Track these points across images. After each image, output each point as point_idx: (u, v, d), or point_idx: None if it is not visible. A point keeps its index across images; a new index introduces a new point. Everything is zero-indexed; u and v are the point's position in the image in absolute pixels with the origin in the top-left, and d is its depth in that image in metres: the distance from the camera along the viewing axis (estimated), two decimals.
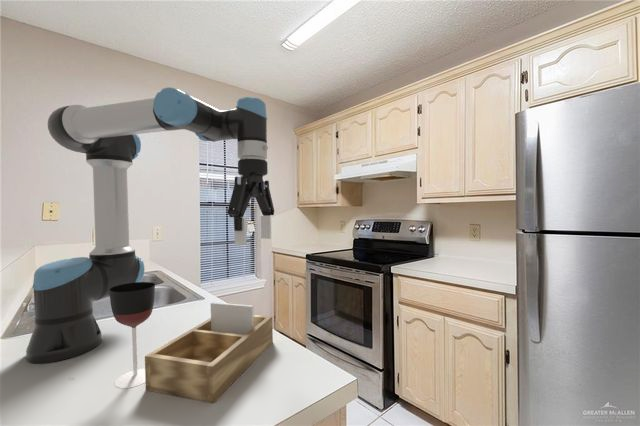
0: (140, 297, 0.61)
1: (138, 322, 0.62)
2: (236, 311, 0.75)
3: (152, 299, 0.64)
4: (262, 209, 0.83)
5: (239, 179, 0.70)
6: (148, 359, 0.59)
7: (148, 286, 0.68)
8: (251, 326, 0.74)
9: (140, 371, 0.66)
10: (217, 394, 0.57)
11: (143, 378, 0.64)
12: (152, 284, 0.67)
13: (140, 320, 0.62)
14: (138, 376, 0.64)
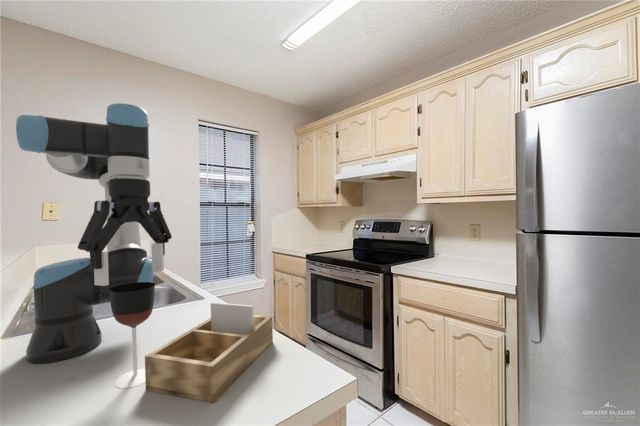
0: (139, 297, 0.61)
1: (138, 322, 0.62)
2: (236, 311, 0.75)
3: (152, 299, 0.64)
4: (152, 236, 0.70)
5: (98, 204, 0.57)
6: (148, 359, 0.59)
7: (148, 286, 0.68)
8: (251, 326, 0.74)
9: (140, 371, 0.66)
10: (217, 394, 0.57)
11: (143, 378, 0.64)
12: (152, 284, 0.67)
13: (140, 320, 0.62)
14: (138, 376, 0.64)
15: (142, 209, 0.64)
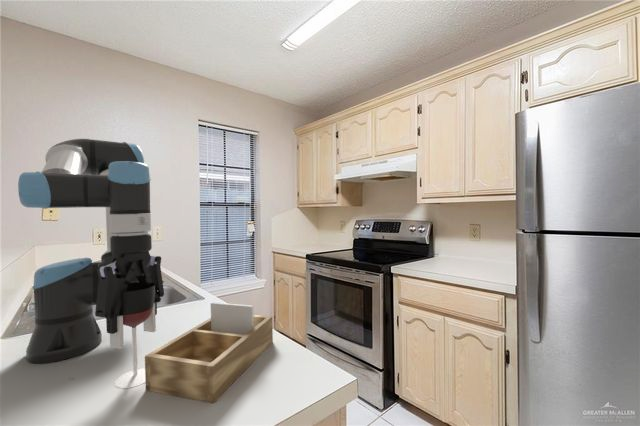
0: (139, 297, 0.61)
1: (138, 322, 0.62)
2: (236, 311, 0.75)
3: (152, 299, 0.64)
4: None
5: (101, 271, 0.57)
6: (148, 359, 0.59)
7: None
8: (251, 326, 0.74)
9: (140, 371, 0.66)
10: (217, 394, 0.57)
11: (143, 378, 0.64)
12: (152, 284, 0.67)
13: (140, 320, 0.62)
14: (138, 376, 0.64)
15: (143, 263, 0.64)
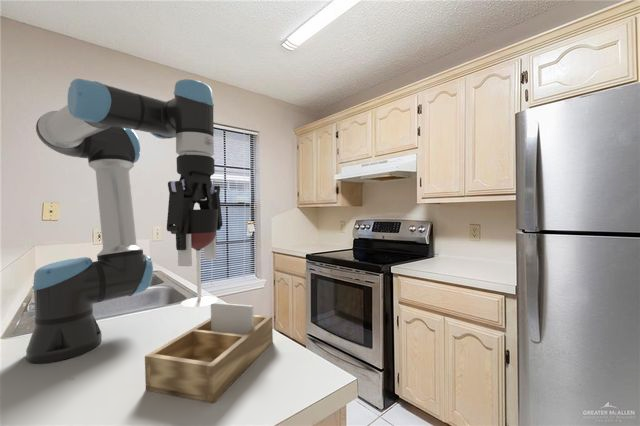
0: (207, 216, 0.61)
1: (204, 243, 0.62)
2: (236, 311, 0.75)
3: (216, 222, 0.64)
4: None
5: (173, 186, 0.57)
6: (148, 359, 0.59)
7: None
8: (251, 326, 0.74)
9: (202, 297, 0.66)
10: (217, 394, 0.57)
11: (208, 301, 0.63)
12: None
13: (206, 241, 0.62)
14: (203, 299, 0.64)
15: (207, 186, 0.64)
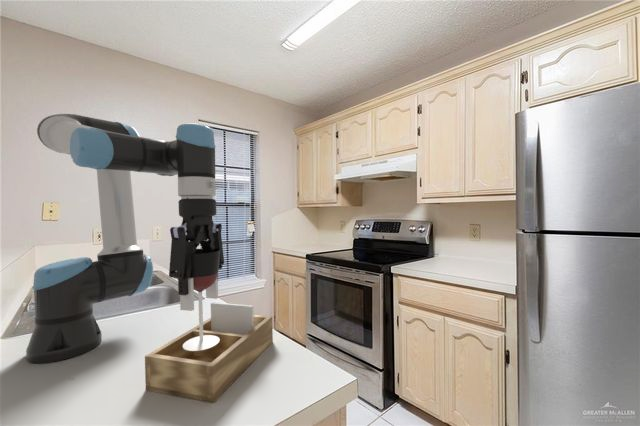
0: (209, 260, 0.61)
1: (206, 286, 0.62)
2: (236, 311, 0.75)
3: (218, 263, 0.64)
4: None
5: (175, 232, 0.57)
6: (148, 359, 0.59)
7: None
8: (251, 326, 0.74)
9: (204, 337, 0.66)
10: (217, 394, 0.57)
11: (210, 342, 0.63)
12: (215, 250, 0.67)
13: (208, 283, 0.62)
14: (205, 340, 0.64)
15: (209, 228, 0.64)
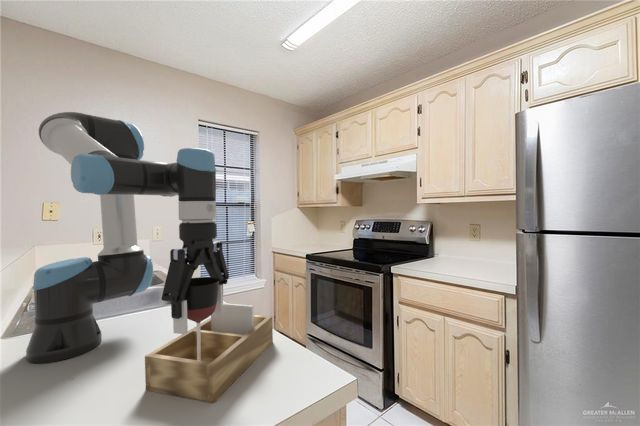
0: (208, 292, 0.61)
1: (205, 317, 0.62)
2: (236, 311, 0.75)
3: (217, 294, 0.64)
4: (212, 277, 0.69)
5: (175, 254, 0.57)
6: (148, 359, 0.59)
7: (210, 281, 0.67)
8: (251, 326, 0.74)
9: None
10: (217, 394, 0.57)
11: None
12: (214, 279, 0.67)
13: (207, 315, 0.62)
14: None
15: (209, 251, 0.64)
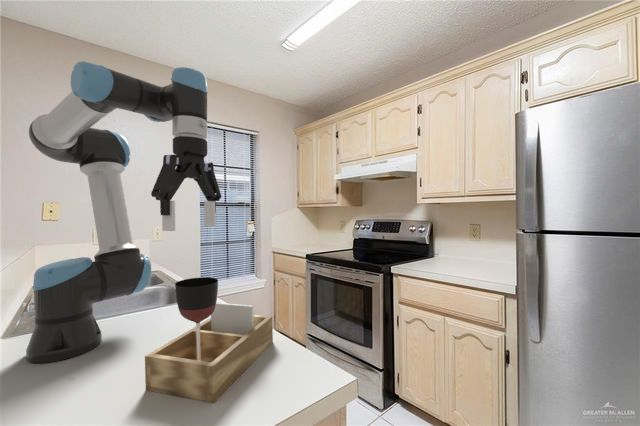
0: (207, 292, 0.61)
1: (204, 317, 0.62)
2: (236, 311, 0.75)
3: (216, 294, 0.63)
4: (205, 194, 0.76)
5: (167, 158, 0.63)
6: (148, 359, 0.59)
7: (209, 281, 0.67)
8: (251, 326, 0.74)
9: None
10: (217, 394, 0.57)
11: None
12: (213, 279, 0.66)
13: (206, 315, 0.62)
14: None
15: (200, 167, 0.70)
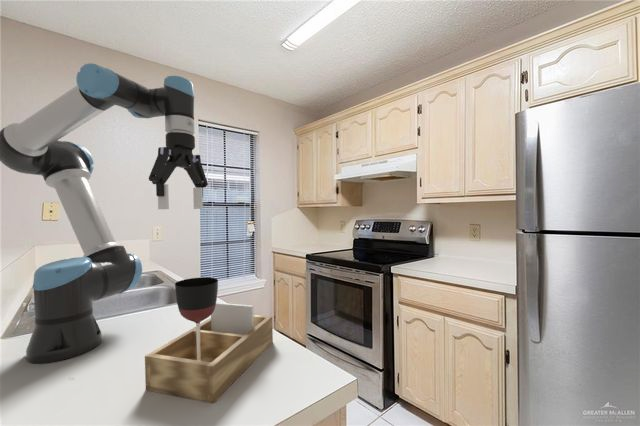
0: (207, 292, 0.61)
1: (204, 317, 0.62)
2: (236, 311, 0.75)
3: (216, 294, 0.63)
4: (194, 181, 0.90)
5: (161, 149, 0.77)
6: (148, 359, 0.59)
7: (209, 281, 0.67)
8: (251, 326, 0.74)
9: None
10: (217, 394, 0.57)
11: None
12: (213, 279, 0.66)
13: (206, 315, 0.62)
14: None
15: (189, 157, 0.84)
